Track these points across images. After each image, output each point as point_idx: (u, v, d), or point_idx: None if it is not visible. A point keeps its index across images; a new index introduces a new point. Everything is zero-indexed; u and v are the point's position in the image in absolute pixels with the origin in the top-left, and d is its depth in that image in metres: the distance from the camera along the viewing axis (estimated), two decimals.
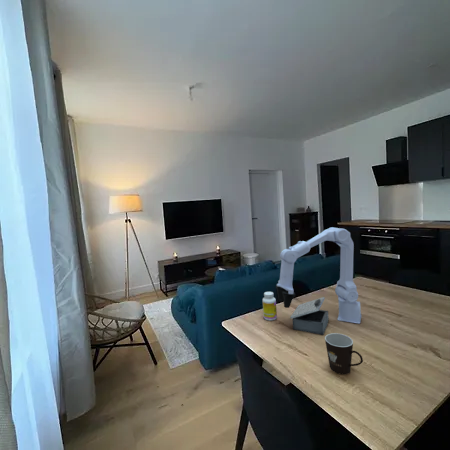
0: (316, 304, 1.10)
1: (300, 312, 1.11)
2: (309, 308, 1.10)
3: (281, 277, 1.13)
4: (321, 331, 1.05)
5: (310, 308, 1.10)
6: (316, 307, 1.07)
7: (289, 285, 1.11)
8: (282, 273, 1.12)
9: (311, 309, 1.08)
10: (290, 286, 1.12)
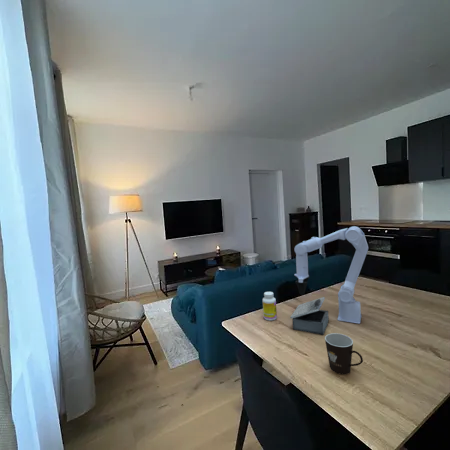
0: (316, 304, 1.10)
1: (300, 312, 1.11)
2: (309, 308, 1.10)
3: (296, 268, 1.27)
4: (321, 331, 1.05)
5: (310, 308, 1.10)
6: (316, 307, 1.07)
7: (303, 275, 1.25)
8: (296, 264, 1.27)
9: (311, 309, 1.08)
10: (304, 276, 1.25)
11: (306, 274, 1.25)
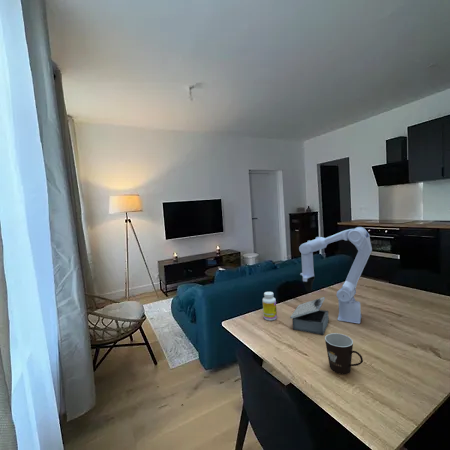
0: (316, 304, 1.10)
1: (300, 312, 1.11)
2: (309, 308, 1.10)
3: (302, 267, 1.29)
4: (321, 331, 1.05)
5: (310, 308, 1.10)
6: (316, 307, 1.07)
7: (308, 274, 1.26)
8: None
9: (311, 309, 1.08)
10: (309, 275, 1.26)
11: (311, 273, 1.26)
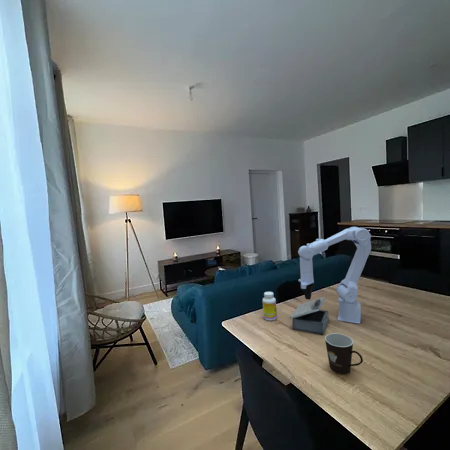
0: (316, 304, 1.10)
1: (300, 312, 1.11)
2: (309, 308, 1.10)
3: None
4: (321, 331, 1.05)
5: (310, 308, 1.10)
6: (316, 307, 1.07)
7: (307, 280, 1.16)
8: (301, 269, 1.17)
9: (311, 309, 1.08)
10: (308, 281, 1.15)
11: (310, 280, 1.16)
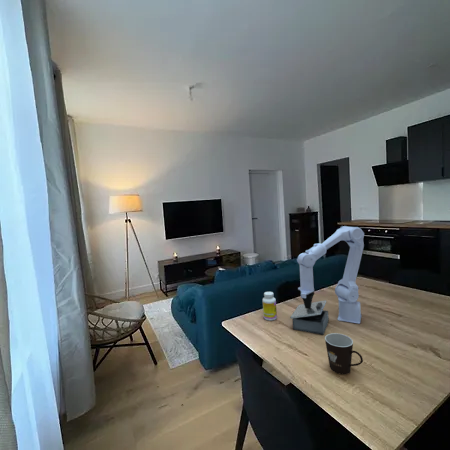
0: (318, 307, 1.09)
1: (301, 313, 1.11)
2: (310, 310, 1.10)
3: (300, 281, 1.14)
4: (321, 331, 1.05)
5: (311, 311, 1.10)
6: (318, 310, 1.07)
7: (307, 289, 1.11)
8: (303, 278, 1.12)
9: (312, 312, 1.08)
10: (308, 290, 1.11)
11: (311, 288, 1.11)
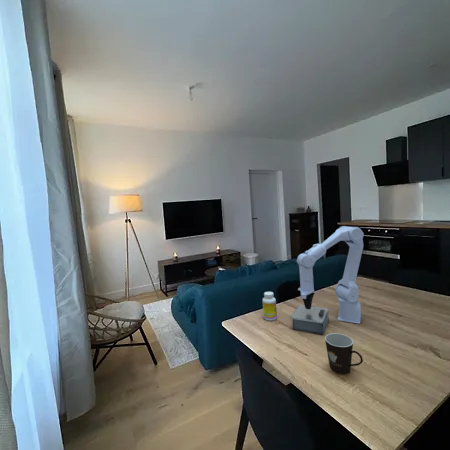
0: (320, 315, 1.09)
1: (302, 316, 1.11)
2: (312, 316, 1.10)
3: (300, 281, 1.14)
4: (321, 331, 1.05)
5: (313, 316, 1.09)
6: (320, 318, 1.07)
7: (307, 290, 1.11)
8: (302, 279, 1.12)
9: (314, 318, 1.07)
10: (308, 291, 1.11)
11: (311, 289, 1.11)
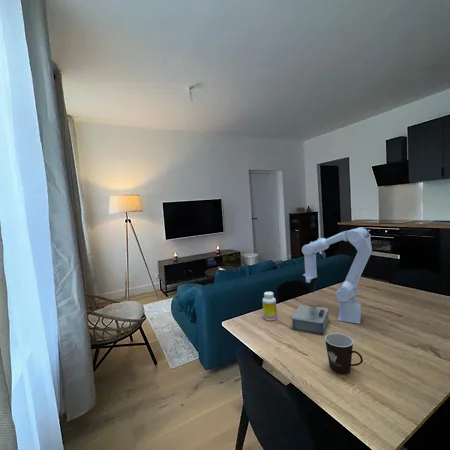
0: (320, 315, 1.09)
1: (302, 316, 1.11)
2: (312, 316, 1.10)
3: (305, 268, 1.30)
4: (321, 331, 1.05)
5: (313, 316, 1.09)
6: (320, 318, 1.07)
7: (311, 275, 1.27)
8: None
9: (314, 318, 1.07)
10: (312, 276, 1.27)
11: (314, 274, 1.27)
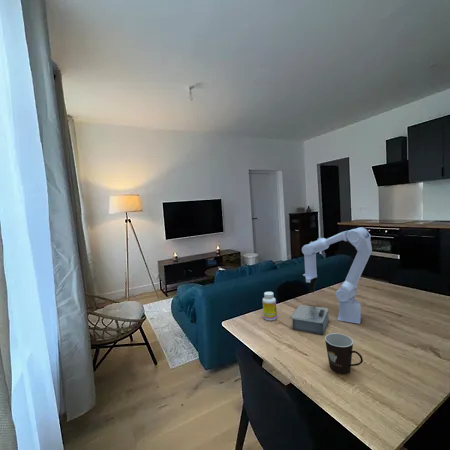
0: (320, 315, 1.09)
1: (302, 316, 1.11)
2: (312, 316, 1.10)
3: (305, 268, 1.30)
4: (321, 331, 1.05)
5: (313, 316, 1.09)
6: (320, 318, 1.07)
7: (311, 275, 1.27)
8: None
9: (314, 318, 1.07)
10: (312, 276, 1.27)
11: (314, 274, 1.27)
